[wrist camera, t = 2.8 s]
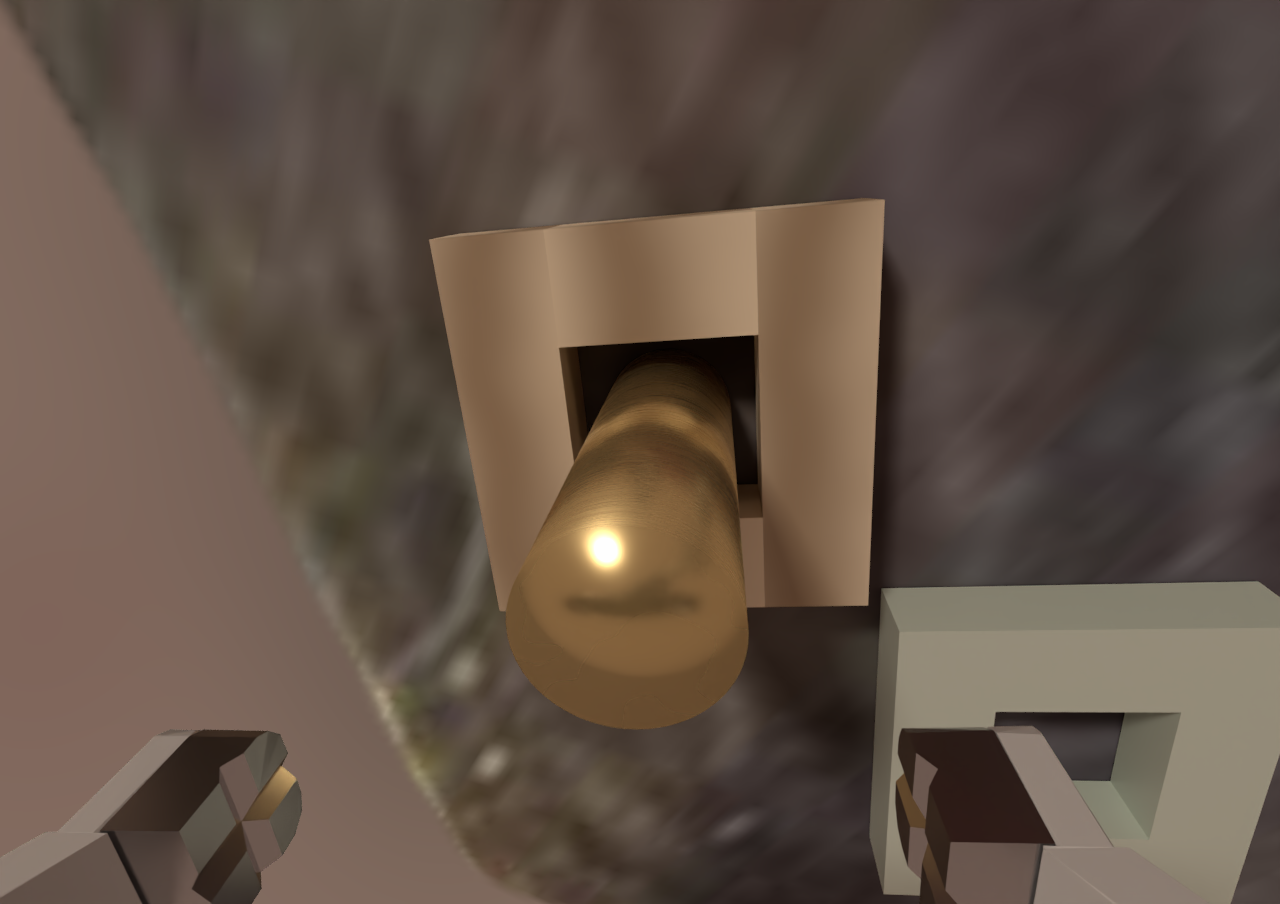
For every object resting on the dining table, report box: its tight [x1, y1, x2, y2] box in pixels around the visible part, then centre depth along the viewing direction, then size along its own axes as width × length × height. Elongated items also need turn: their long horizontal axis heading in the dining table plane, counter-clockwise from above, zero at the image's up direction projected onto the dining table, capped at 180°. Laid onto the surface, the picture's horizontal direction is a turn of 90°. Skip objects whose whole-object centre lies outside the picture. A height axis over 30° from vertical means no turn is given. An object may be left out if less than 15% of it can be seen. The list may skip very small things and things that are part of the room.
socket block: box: [869, 581, 1280, 904], centre depth 24 cm, size 12×12×2 cm
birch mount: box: [429, 198, 885, 611], centre depth 21 cm, size 12×12×2 cm
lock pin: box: [506, 349, 749, 729], centre depth 17 cm, size 4×4×12 cm
